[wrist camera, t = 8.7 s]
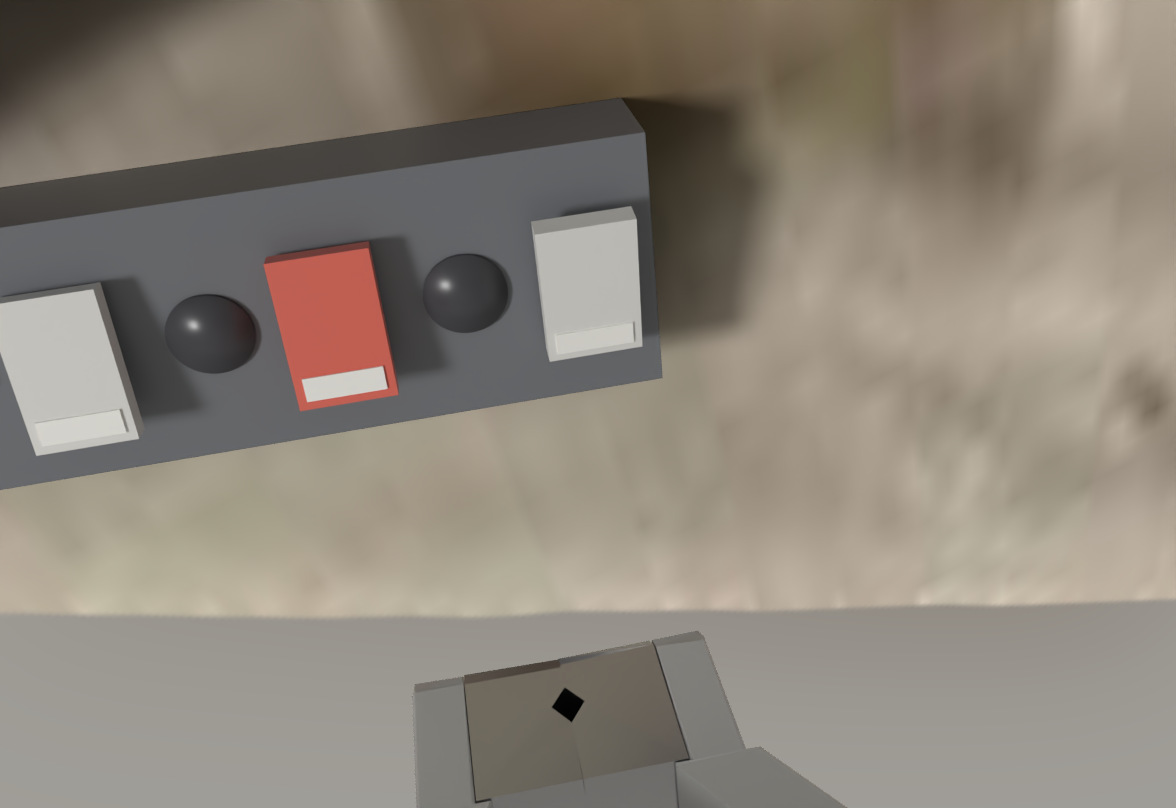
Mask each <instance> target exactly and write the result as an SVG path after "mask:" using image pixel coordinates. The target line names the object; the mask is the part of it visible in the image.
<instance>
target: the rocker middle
mask: <svg viewBox="0 0 1176 808" xmlns="http://www.w3.org/2000/svg"><path fill="white" fill-rule="evenodd" d="M263 265H264V269H265V273H266V277H267V281H268V285H269V289H270V293H271V297H272V301H273V305H274V309H275V313H276V317H277V321H278V325H279V329H280V333H281V337H282V341H283V345H284V349H285V353H286V357H287V361H288V365H289V369H290V373H291V377H292V381H293V385H294V389H295V393H296V397H297V401H298V405H299V409H300V411H305V410H311V409H317V408H323V407H329V406H335V405H341V404H347V403H353V402H359V401H365V400H371V399H377V398H383V397H389V396H395V395H399V385H398V380H397V375H396V370H395V365H394V360H393V355H392V351H391V346H390V341H389V336H388V331H387V326H386V322H385V317H384V312H383V307H382V302H381V297H380V292H379V288H378V283H377V278H376V273H375V268H374V263H373V258H372V254H371V249H370V244H369V241H366V242H360V243H353V244H347V245H340V246H334V247H327V248H321V249H314V250H308V251H301V252H295V253H288V254H282V255H275V256H269V257H266V259H265V261H264V264H263Z"/></svg>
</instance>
